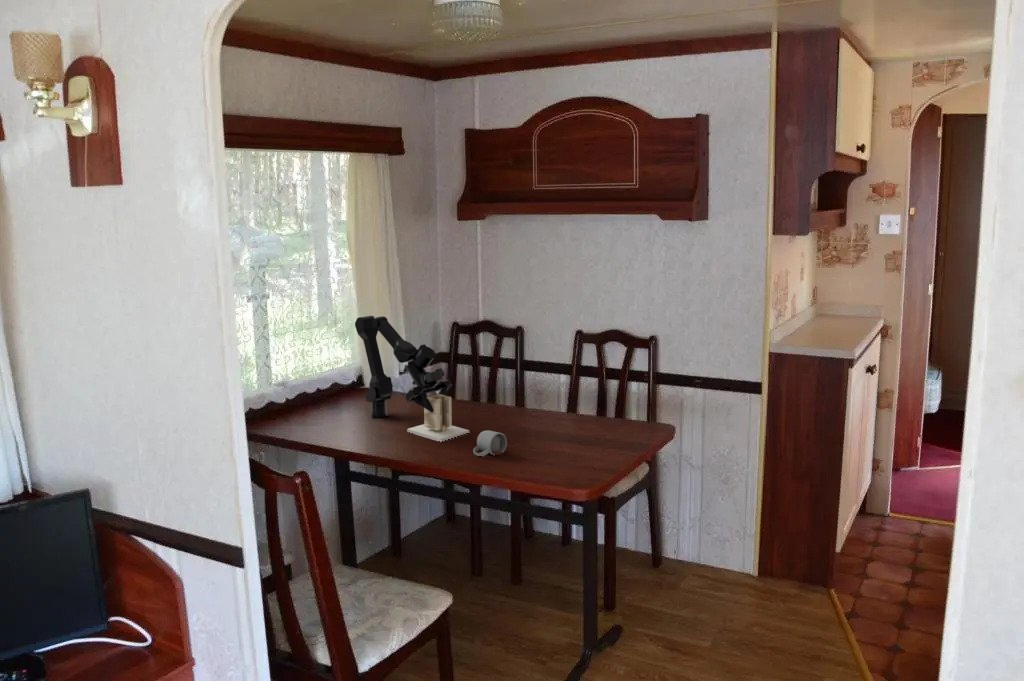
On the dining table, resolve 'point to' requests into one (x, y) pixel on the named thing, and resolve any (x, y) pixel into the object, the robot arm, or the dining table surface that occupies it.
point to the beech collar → (438, 412)
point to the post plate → (438, 432)
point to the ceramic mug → (490, 443)
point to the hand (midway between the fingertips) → (440, 409)
